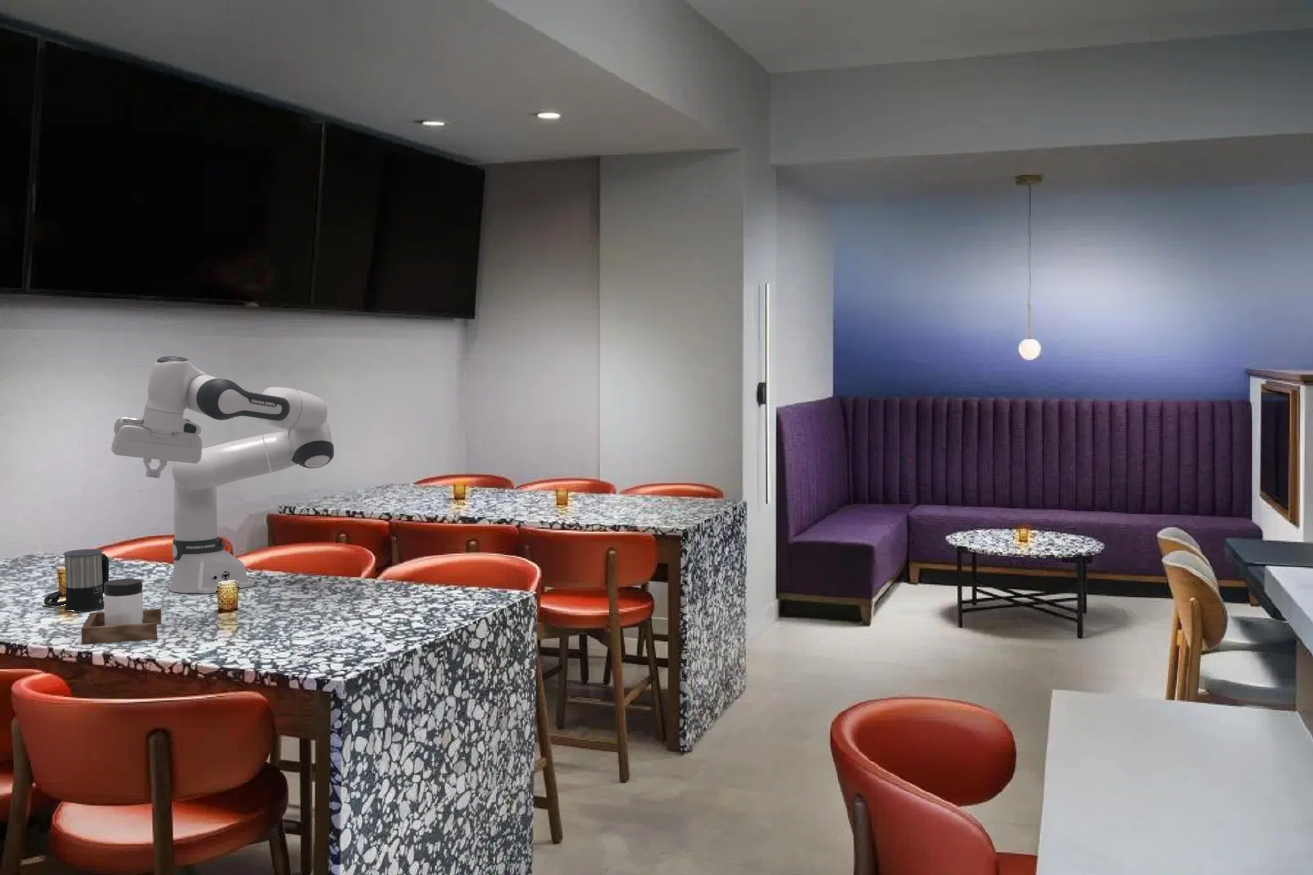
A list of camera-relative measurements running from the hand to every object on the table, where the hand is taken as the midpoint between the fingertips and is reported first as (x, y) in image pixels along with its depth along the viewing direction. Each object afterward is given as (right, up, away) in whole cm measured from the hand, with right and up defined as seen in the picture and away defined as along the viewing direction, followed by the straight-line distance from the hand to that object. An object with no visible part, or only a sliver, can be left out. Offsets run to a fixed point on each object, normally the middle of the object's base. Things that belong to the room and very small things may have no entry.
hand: (152, 477), depth 280 cm
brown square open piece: (-1, -36, -12) cm, 38 cm away
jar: (-2, -36, -11) cm, 38 cm away
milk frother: (-27, -34, +15) cm, 46 cm away
